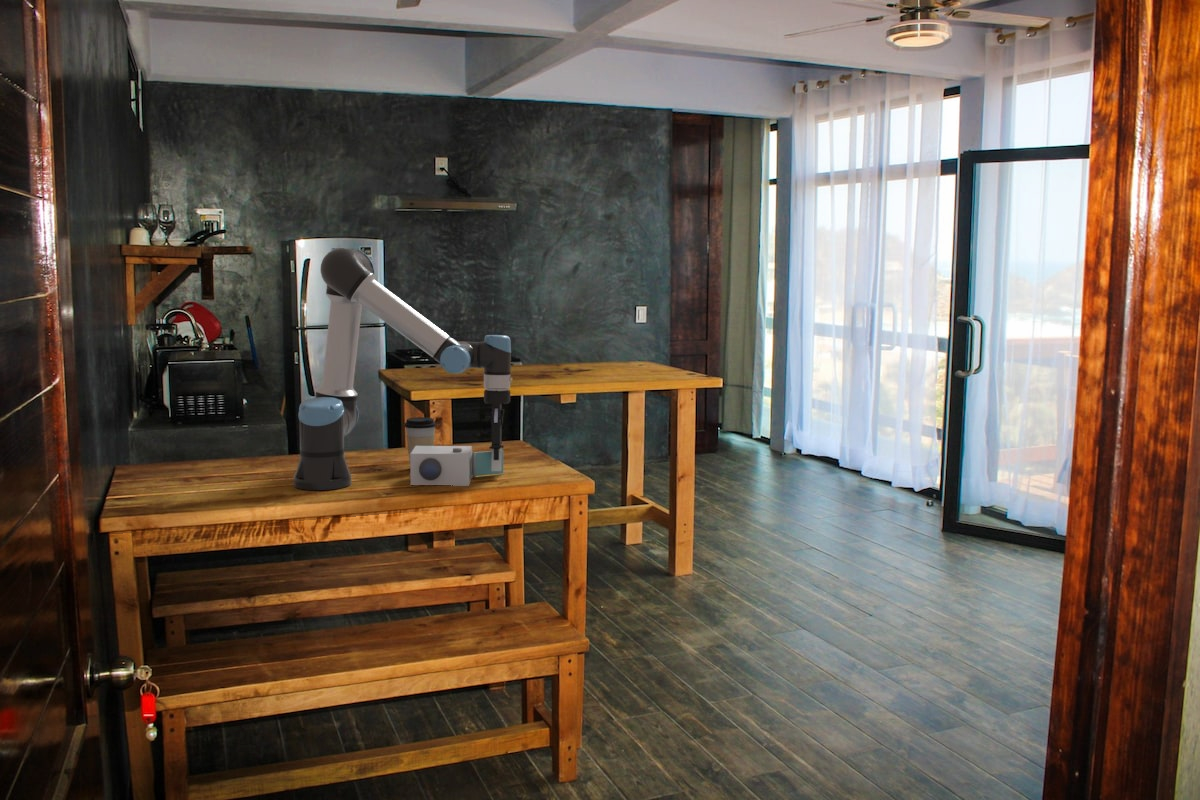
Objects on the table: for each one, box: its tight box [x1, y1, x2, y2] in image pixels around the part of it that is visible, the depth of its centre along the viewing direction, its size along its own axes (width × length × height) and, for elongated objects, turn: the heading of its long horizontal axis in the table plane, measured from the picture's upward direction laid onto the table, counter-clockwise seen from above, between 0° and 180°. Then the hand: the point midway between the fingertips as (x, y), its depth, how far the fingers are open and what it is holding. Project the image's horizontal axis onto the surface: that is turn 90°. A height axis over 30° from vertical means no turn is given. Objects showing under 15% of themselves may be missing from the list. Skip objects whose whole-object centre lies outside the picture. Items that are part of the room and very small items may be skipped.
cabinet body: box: [409, 445, 473, 487], centre depth 276 cm, size 16×13×10 cm
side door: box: [472, 449, 504, 478], centre depth 285 cm, size 10×2×7 cm, turn 119°
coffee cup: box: [403, 416, 437, 460], centre depth 293 cm, size 9×9×15 cm
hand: (496, 470), depth 283 cm, fingers closed
